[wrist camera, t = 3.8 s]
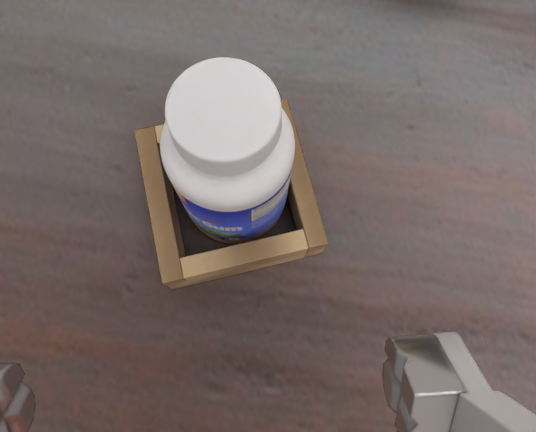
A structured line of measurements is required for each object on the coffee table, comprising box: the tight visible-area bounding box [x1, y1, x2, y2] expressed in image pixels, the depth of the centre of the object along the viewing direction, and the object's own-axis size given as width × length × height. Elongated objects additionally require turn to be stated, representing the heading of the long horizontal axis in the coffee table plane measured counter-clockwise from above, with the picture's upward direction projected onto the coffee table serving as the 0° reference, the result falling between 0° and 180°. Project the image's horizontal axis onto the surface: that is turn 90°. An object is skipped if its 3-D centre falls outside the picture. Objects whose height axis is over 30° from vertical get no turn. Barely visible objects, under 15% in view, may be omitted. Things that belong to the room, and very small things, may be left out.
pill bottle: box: [160, 57, 295, 244], centre depth 20 cm, size 5×5×10 cm
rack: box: [135, 98, 328, 289], centre depth 23 cm, size 8×8×2 cm
